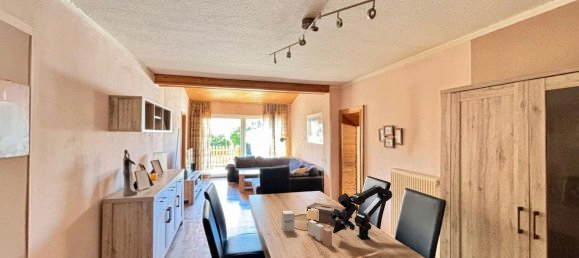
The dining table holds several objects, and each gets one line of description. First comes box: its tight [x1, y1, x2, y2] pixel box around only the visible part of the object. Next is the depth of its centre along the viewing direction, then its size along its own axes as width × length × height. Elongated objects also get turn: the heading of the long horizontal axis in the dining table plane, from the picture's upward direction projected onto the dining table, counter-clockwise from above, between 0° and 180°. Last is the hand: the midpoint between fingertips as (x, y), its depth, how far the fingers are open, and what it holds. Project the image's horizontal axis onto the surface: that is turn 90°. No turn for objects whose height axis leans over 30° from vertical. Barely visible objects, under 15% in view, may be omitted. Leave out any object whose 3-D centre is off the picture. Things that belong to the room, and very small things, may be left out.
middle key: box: [314, 223, 325, 242], centre depth 163 cm, size 3×5×8 cm, turn 28°
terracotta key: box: [322, 227, 333, 247], centre depth 156 cm, size 3×5×8 cm, turn 28°
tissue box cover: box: [306, 202, 345, 226], centre depth 203 cm, size 26×14×10 cm, turn 57°
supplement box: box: [281, 210, 295, 232], centre depth 180 cm, size 7×7×13 cm
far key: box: [307, 220, 318, 237], centre depth 170 cm, size 3×5×8 cm, turn 28°
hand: (333, 233), depth 158 cm, fingers closed
